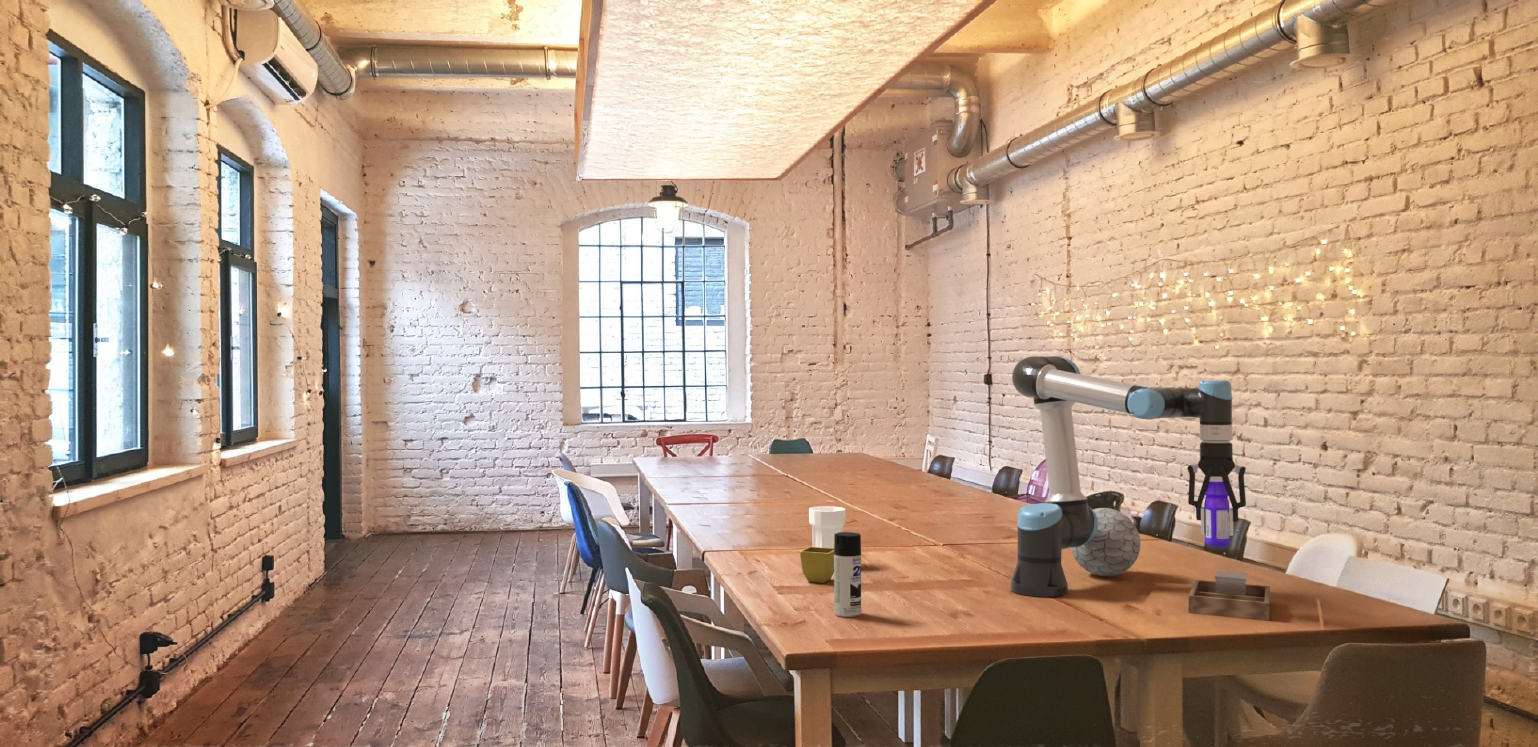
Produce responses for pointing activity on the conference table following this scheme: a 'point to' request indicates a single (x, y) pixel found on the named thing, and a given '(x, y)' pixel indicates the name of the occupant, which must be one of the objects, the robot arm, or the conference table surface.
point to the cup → (826, 524)
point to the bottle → (1216, 513)
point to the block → (1230, 583)
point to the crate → (1230, 601)
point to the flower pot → (817, 563)
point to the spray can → (847, 574)
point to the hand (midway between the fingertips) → (1217, 533)
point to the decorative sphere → (1110, 545)
